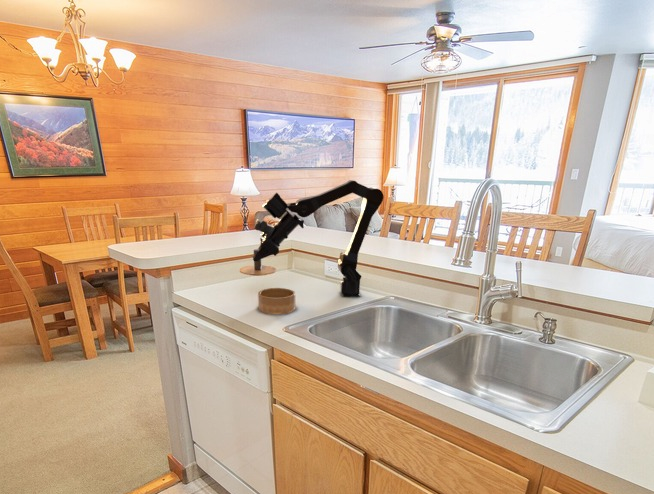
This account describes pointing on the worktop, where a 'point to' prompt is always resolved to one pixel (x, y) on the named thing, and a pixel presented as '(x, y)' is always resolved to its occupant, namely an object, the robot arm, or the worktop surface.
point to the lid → (257, 268)
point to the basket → (276, 300)
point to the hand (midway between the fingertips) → (253, 259)
